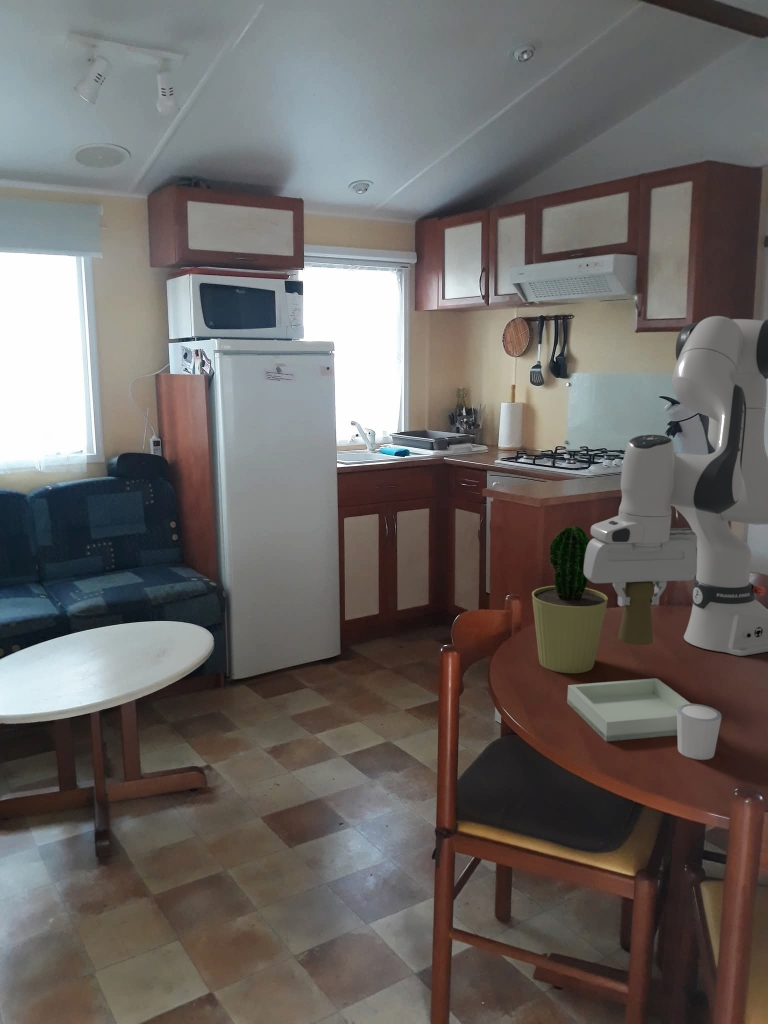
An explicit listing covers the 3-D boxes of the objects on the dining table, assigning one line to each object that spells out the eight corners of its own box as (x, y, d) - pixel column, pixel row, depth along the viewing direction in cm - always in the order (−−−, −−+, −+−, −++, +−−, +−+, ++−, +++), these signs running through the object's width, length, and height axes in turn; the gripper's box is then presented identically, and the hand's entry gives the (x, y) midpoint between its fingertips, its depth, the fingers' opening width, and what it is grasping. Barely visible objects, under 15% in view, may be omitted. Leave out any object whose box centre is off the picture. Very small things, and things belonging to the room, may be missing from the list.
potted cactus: (578, 647, 185) (584, 514, 179) (618, 671, 171) (627, 528, 165) (516, 654, 180) (521, 518, 174) (552, 681, 166) (559, 533, 160)
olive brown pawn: (648, 634, 152) (653, 576, 150) (656, 645, 146) (661, 584, 144) (615, 633, 152) (619, 574, 151) (621, 644, 147) (625, 583, 145)
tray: (655, 695, 159) (656, 678, 158) (702, 732, 144) (704, 713, 143) (567, 702, 156) (568, 685, 155) (605, 741, 140) (606, 722, 140)
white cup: (727, 757, 135) (731, 717, 134) (692, 764, 133) (696, 723, 131) (698, 739, 141) (701, 700, 140) (664, 745, 139) (667, 706, 138)
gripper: (688, 524, 151) (681, 598, 153) (582, 526, 147) (577, 602, 149) (707, 531, 145) (701, 608, 147) (597, 533, 141) (592, 612, 143)
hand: (638, 605), depth 148 cm, fingers closed on olive brown pawn, 4 cm apart
